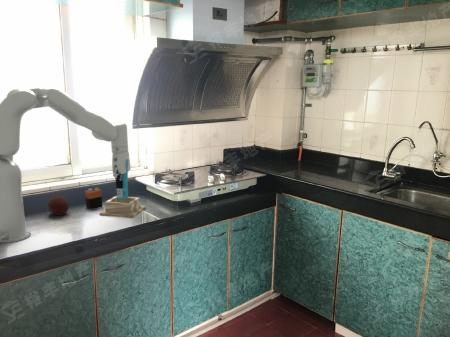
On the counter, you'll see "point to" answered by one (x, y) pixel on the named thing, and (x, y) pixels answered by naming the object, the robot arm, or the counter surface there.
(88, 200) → the battery
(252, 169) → the counter surface
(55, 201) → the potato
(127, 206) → the socket block
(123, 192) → the tube
